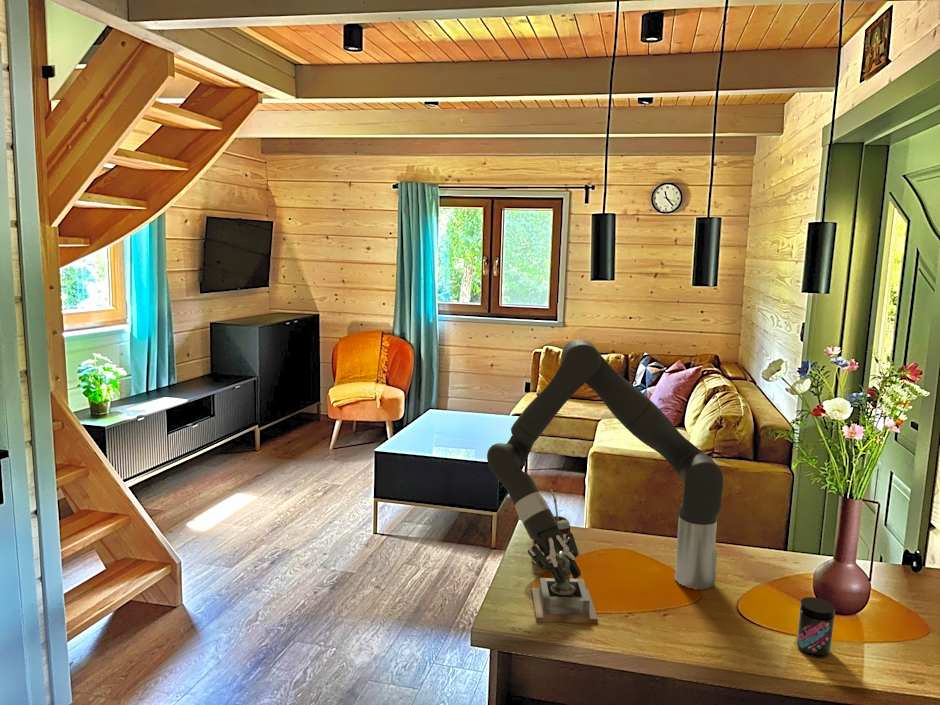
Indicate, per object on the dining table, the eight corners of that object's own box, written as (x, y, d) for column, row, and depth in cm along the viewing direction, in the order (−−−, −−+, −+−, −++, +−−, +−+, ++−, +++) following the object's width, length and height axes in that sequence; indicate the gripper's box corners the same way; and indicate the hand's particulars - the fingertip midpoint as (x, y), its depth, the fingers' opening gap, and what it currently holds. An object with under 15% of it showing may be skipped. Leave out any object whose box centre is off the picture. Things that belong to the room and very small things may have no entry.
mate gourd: (563, 553, 201) (565, 502, 198) (537, 547, 205) (539, 496, 202) (574, 544, 207) (576, 494, 204) (548, 537, 211) (550, 488, 208)
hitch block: (588, 592, 179) (589, 575, 178) (597, 623, 165) (598, 604, 165) (531, 591, 179) (532, 574, 178) (536, 621, 165) (536, 603, 165)
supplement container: (788, 644, 158) (793, 600, 156) (811, 638, 161) (816, 594, 159) (814, 661, 152) (819, 615, 150) (837, 654, 154) (842, 609, 153)
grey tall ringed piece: (577, 598, 174) (578, 551, 172) (572, 610, 169) (573, 562, 167) (553, 594, 176) (554, 548, 174) (547, 606, 170) (548, 558, 168)
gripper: (522, 515, 170) (558, 583, 163) (564, 501, 179) (599, 565, 172) (506, 529, 175) (540, 595, 168) (548, 515, 184) (582, 577, 176)
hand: (570, 580), depth 170 cm, fingers open, 4 cm apart
